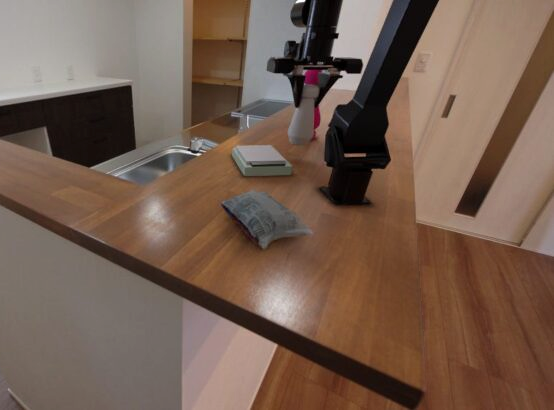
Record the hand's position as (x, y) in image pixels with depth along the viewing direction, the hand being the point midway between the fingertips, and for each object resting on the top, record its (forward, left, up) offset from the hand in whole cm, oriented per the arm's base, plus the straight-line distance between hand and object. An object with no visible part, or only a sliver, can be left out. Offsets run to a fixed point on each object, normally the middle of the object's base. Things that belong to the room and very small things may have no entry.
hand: (305, 107), depth 68 cm
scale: (-5, +11, -11) cm, 17 cm away
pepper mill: (+15, -8, -12) cm, 20 cm away
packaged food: (-30, +18, -12) cm, 37 cm away
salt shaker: (0, 0, -9) cm, 8 cm away
